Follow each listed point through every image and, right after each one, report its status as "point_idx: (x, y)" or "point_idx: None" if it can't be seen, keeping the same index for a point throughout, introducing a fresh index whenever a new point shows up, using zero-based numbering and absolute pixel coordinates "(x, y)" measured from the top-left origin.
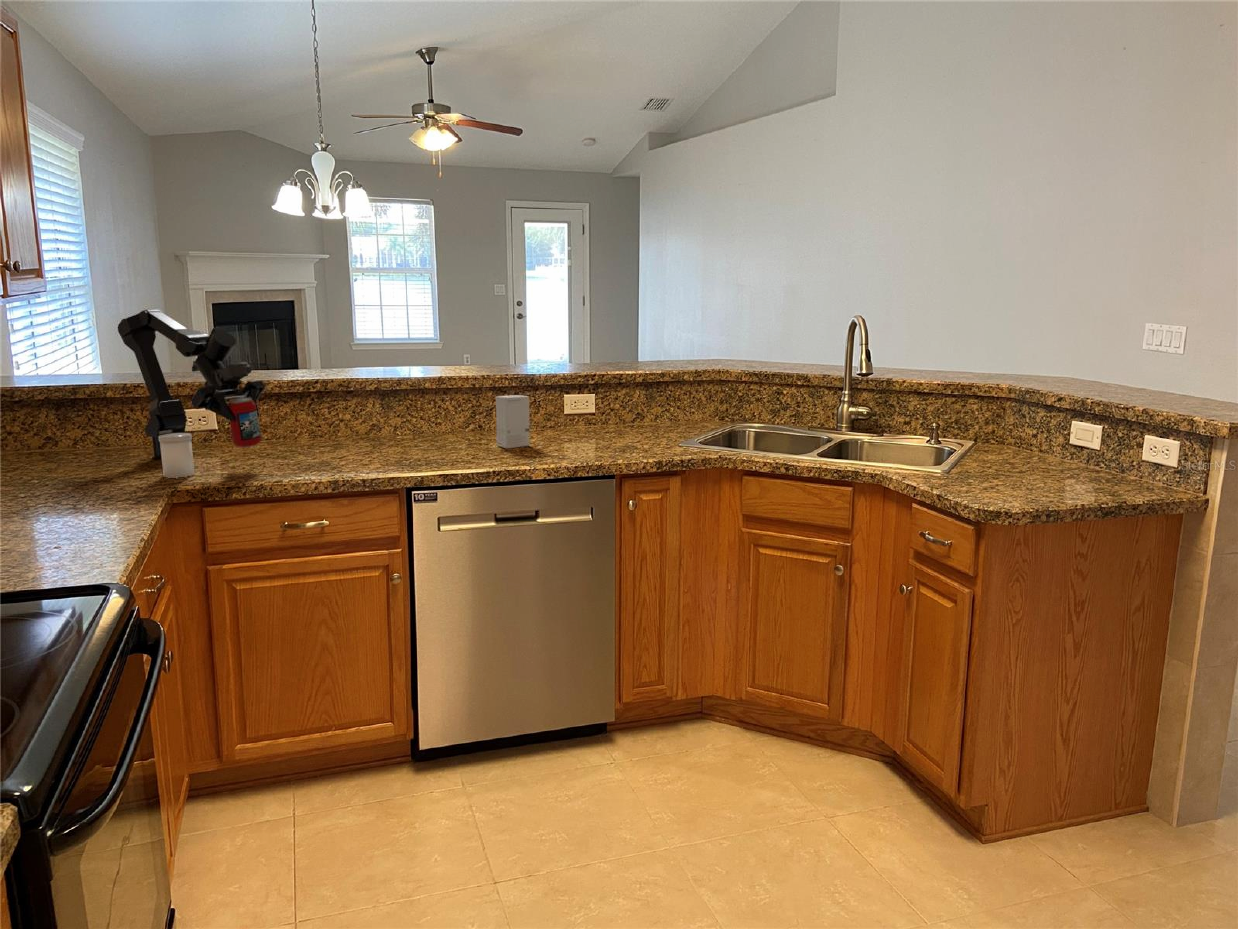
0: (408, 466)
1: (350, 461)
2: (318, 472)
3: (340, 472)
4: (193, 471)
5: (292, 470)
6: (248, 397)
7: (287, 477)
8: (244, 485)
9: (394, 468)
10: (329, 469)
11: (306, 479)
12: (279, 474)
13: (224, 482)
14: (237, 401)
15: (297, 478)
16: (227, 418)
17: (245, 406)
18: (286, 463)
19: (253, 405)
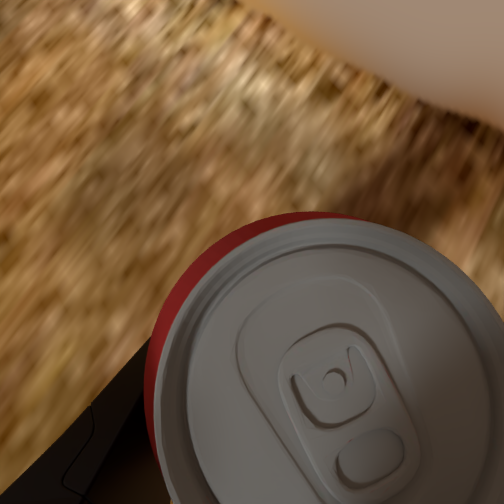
0: (2, 6)
1: (24, 171)
2: (181, 112)
3: (146, 68)
4: None
5: (208, 194)
6: (164, 424)
7: (277, 120)
8: (421, 119)
9: (38, 11)
10: (136, 123)
11: (259, 60)
12: (268, 173)
13: (447, 202)
14: (421, 339)
15: (267, 88)
16: None
17: (350, 216)
18: (149, 310)
19: (236, 231)
